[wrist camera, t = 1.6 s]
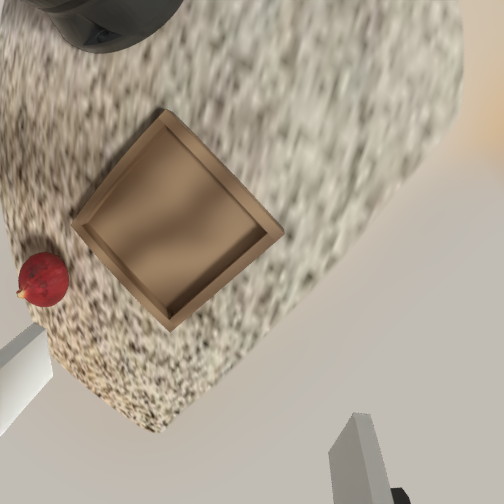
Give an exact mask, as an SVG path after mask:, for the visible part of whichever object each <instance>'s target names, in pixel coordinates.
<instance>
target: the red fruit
mask: <svg viewBox="0 0 504 504" xmlns="http://www.w3.org/2000/svg"><path fill="white" fill-rule="evenodd" d="M18 282H19V289H20V290H18V291H17V297H18V298H22V299H23V298H25V299H26V300H27V301H28V302H30V303H32V304H34V305H36V306H40V307H50V306H53V305H55V304H56V303H58V302H59V301H60V300H61V299H62V298H63V297H64V296H65V293H66V291H67V289H68V286H69V275H68V270H67V268H66V266H65V264H64V262H63V261H62V260H61V259H60V258H59V257H58V256H56V255H54V254H51V253H48V252H41V253H38V254H34V255H33V256H31V257H30V258H29V259H28V260H27V261H26V262H25V263H24V264H23V266H22V267H21V270H20V274H19V280H18Z"/></svg>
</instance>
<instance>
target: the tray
mask: <svg viewBox="0 0 504 504" xmlns="http://www.w3.org/2000/svg"><path fill="white" fill-rule="evenodd" d="M71 226H72V227H73V229H74V230H75V231H76V232H77V233H78V235H79V236H80V237H81V238H82V239H83V241H84V242H85V243H86V244H87V245H88V247H89V248H90V249H91V250H92V251H93V252H94V253H95V255H96V256H97V257H98V258H99V259H100V260H101V261H102V263H103V264H104V265H105V266H106V267H107V268H108V269H109V270H110V271H111V273H112V274H113V275H114V276H115V277H116V278H117V279H118V280H119V281H120V282H121V283H122V284H123V286H124V287H125V288H126V289H127V290H128V291H129V292H130V293H131V294H132V295H133V296H134V297H135V298H136V299H137V300H138V301H139V302H140V303H141V304H142V305H143V306H144V307H145V308H146V309H147V310H148V311H149V312H150V313H151V314H152V315H153V316H154V317H155V318H156V319H157V320H158V321H159V322H160V323H161V324H162V325H163V326H164V327H165V328H166V329H167V330H168V331H169V332H171V331H172V330H174V329H175V328H176V327H177V326H178V325H179V324H181V323H182V322H183V321H184V320H185V319H186V318H188V317H189V316H190V315H191V314H192V313H193V312H195V311H196V310H197V309H198V308H199V307H200V306H202V305H203V304H204V303H205V302H206V301H207V300H209V299H210V298H211V297H212V296H213V295H214V294H216V293H217V292H218V291H219V290H220V289H221V288H223V287H224V286H225V285H226V284H227V283H228V282H230V281H231V280H232V279H233V278H234V277H235V276H237V275H238V274H239V273H240V272H241V271H242V270H244V269H245V268H246V267H247V266H248V265H249V264H251V263H252V262H253V261H254V260H255V259H256V258H257V257H259V256H260V255H261V254H262V253H263V252H264V251H266V250H267V249H268V248H269V247H270V246H271V245H273V244H274V243H275V242H276V241H277V240H278V239H279V238H281V237H282V236H283V235H284V229H283V228H282V226H281V225H280V224H279V223H278V222H277V221H276V220H275V219H274V218H273V217H272V215H271V214H270V213H269V212H268V211H267V210H266V209H265V208H264V207H263V206H262V205H261V204H260V202H259V201H258V200H257V199H256V198H255V197H254V196H253V195H252V194H251V193H250V192H249V191H248V190H247V188H246V187H245V186H244V185H243V184H242V183H241V182H240V181H239V180H238V179H237V178H236V177H235V176H234V175H233V174H232V172H231V171H230V170H229V169H228V168H227V167H226V166H225V165H224V164H223V163H222V162H221V161H220V160H219V159H218V158H217V157H216V156H215V155H214V154H213V153H212V152H211V151H210V149H209V148H208V147H207V146H206V145H205V144H204V143H203V142H202V141H201V140H200V139H199V138H198V137H197V136H196V135H195V134H194V133H193V132H192V131H191V130H190V129H189V128H188V127H187V126H186V125H185V124H184V123H183V122H182V121H181V120H180V119H179V118H178V117H177V116H176V115H175V114H174V113H173V112H171V111H169V110H167V109H166V110H165V111H164V112H163V113H162V114H161V115H160V116H159V117H158V118H157V119H156V120H155V121H154V122H153V123H152V124H151V125H150V126H149V127H148V129H147V130H146V131H145V132H144V133H143V134H142V135H141V136H140V137H139V138H138V140H137V141H136V142H135V143H134V144H133V145H132V146H131V148H130V149H129V150H128V151H127V152H126V153H125V155H124V156H123V157H122V158H121V159H120V161H119V162H118V163H117V164H116V165H115V167H114V168H113V169H112V170H111V172H110V173H109V174H108V175H107V176H106V178H105V179H104V180H103V182H102V183H101V184H100V185H99V187H98V188H97V189H96V191H95V192H94V193H93V195H92V196H91V197H90V199H89V200H88V201H87V203H86V204H85V205H84V207H83V208H82V210H81V211H80V212H79V214H78V215H77V217H76V218H75V219H74V221H73V222H72V224H71Z"/></svg>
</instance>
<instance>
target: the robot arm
mask: <svg viewBox="0 0 504 504" xmlns="http://www.w3.org/2000/svg"><path fill="white" fill-rule="evenodd" d="M22 1H24V2H26V3H28V4H31V5H33V6H35V7H37V8H39V9H41V10H43V11H45V12H46V13H47V14H48V16H49V17H50V19H51V20H52V21H53V23H54V24H55V26H56V27H57V29H58V30H59V32H60V33H61V35H62V36H63V37H64V39H66V40H67V41H68V42H69V43H70V44H72V45H74V46H76V47H78V48H80V49H82V50H85V51H87V52H91V53H111V52H115V51H119V50H122V49H125V48H128V47H130V46H132V45H135V44H137V43H139V42H140V41H142V40H144V39H146V38H147V37H149V36H150V35H152V34H153V33H154V32H156V31H157V30H158V29H159V28H161V27H162V26H163V25H164V24H165V23H166V22H167V21H168V20H169V19H170V18H171V17H172V16H173V15H174V13H175V12H176V11H177V10H178V8H179V7H180V5H181V4H182V2H183V0H22ZM52 377H53V371H52V366H51V359H50V353H49V347H48V339H47V332H46V329H45V328H43V327H41V326H39V325H37V324H35V323H33V324H32V325H31V326H29V327H28V328H27V329H25V330H24V331H23V332H22V333H20V334H19V335H18V336H17V337H16V338H14V339H13V340H12V341H11V342H9V343H8V344H7V345H6V346H5V347H3V348H2V349H1V350H0V437H1V435H2V434H3V433H4V432H5V431H6V429H7V428H8V427H9V426H10V425H11V423H12V422H13V421H14V420H15V419H16V418H17V416H18V415H19V414H20V413H21V412H22V411H23V409H24V408H25V407H26V406H27V404H28V403H29V402H30V401H31V400H32V399H33V398H34V397H35V396H36V395H37V393H38V392H39V391H40V390H41V389H42V388H43V387H44V386H45V384H46V383H47V382H48V381H49V380H50V379H51V378H52ZM328 453H329V462H330V470H331V480H332V489H333V499H334V504H411V503H410V500H409V497H408V496H407V494H406V493H405V492H404V490H403V489H402V488H390V486H389V481H388V477H387V474H386V470H385V466H384V462H383V459H382V455H381V451H380V448H379V444H378V440H377V437H376V433H375V430H374V426H373V423H372V419H371V416H370V414H362V413H353V414H352V416H351V418H350V419H349V421H348V423H347V424H346V426H345V428H344V429H343V431H342V432H341V434H340V435H339V437H338V438H337V440H336V442H335V443H334V445H333V446H332V448H331V449H330V451H329V452H328Z"/></svg>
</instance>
